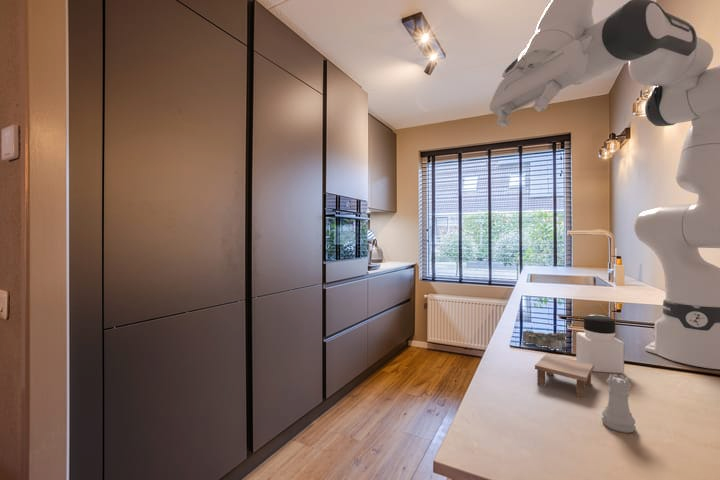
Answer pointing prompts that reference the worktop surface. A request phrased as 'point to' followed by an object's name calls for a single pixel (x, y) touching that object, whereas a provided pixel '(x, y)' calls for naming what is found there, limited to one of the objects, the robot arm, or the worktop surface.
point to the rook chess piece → (618, 406)
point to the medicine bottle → (600, 345)
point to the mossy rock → (545, 339)
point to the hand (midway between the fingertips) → (519, 117)
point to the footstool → (565, 370)
